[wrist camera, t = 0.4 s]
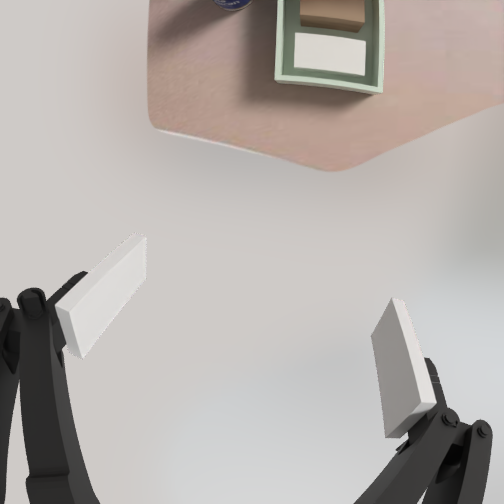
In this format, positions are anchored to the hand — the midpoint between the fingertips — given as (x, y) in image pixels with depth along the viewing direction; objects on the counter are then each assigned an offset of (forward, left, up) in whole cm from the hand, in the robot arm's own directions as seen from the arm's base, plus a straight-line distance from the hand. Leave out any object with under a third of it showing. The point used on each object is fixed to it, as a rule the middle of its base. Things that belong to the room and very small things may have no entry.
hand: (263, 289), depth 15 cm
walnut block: (-24, +4, -26) cm, 35 cm away
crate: (-20, +4, -26) cm, 33 cm away
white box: (-16, +4, -26) cm, 30 cm away
